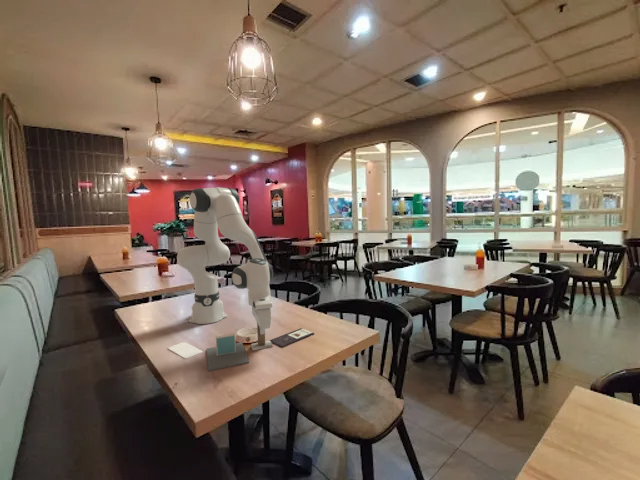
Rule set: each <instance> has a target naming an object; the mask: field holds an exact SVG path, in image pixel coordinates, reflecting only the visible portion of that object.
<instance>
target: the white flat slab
mask: <svg viewBox="0 0 640 480" xmlns="http://www.w3.org/2000/svg"><path fill="white" fill-rule="evenodd" d="M167 349H168V350H169V351H171V352H172V353H174V354H175V355H178V356H179V357H181V358H183V359H184V360H187V359H188V360H189V359H190V358H192V357H193V358H194V357H195V356H198V355H200V354H202V353H203V350H201V349H200V348H197V347H196V346H194V345H192V344H190V343H188V342H185V341H183V342H180V343H178V344H174V345H172V346H169V347H168V348H167Z"/></svg>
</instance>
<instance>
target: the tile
mask: <svg viewBox="0 0 640 480" xmlns="http://www.w3.org/2000/svg"><path fill="white" fill-rule="evenodd" d="M235 343H236V333H229V334H221V335H217V336H215V347H216V351H217V356H218V355H223V354H228V353H233V352H236V346H235Z"/></svg>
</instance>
